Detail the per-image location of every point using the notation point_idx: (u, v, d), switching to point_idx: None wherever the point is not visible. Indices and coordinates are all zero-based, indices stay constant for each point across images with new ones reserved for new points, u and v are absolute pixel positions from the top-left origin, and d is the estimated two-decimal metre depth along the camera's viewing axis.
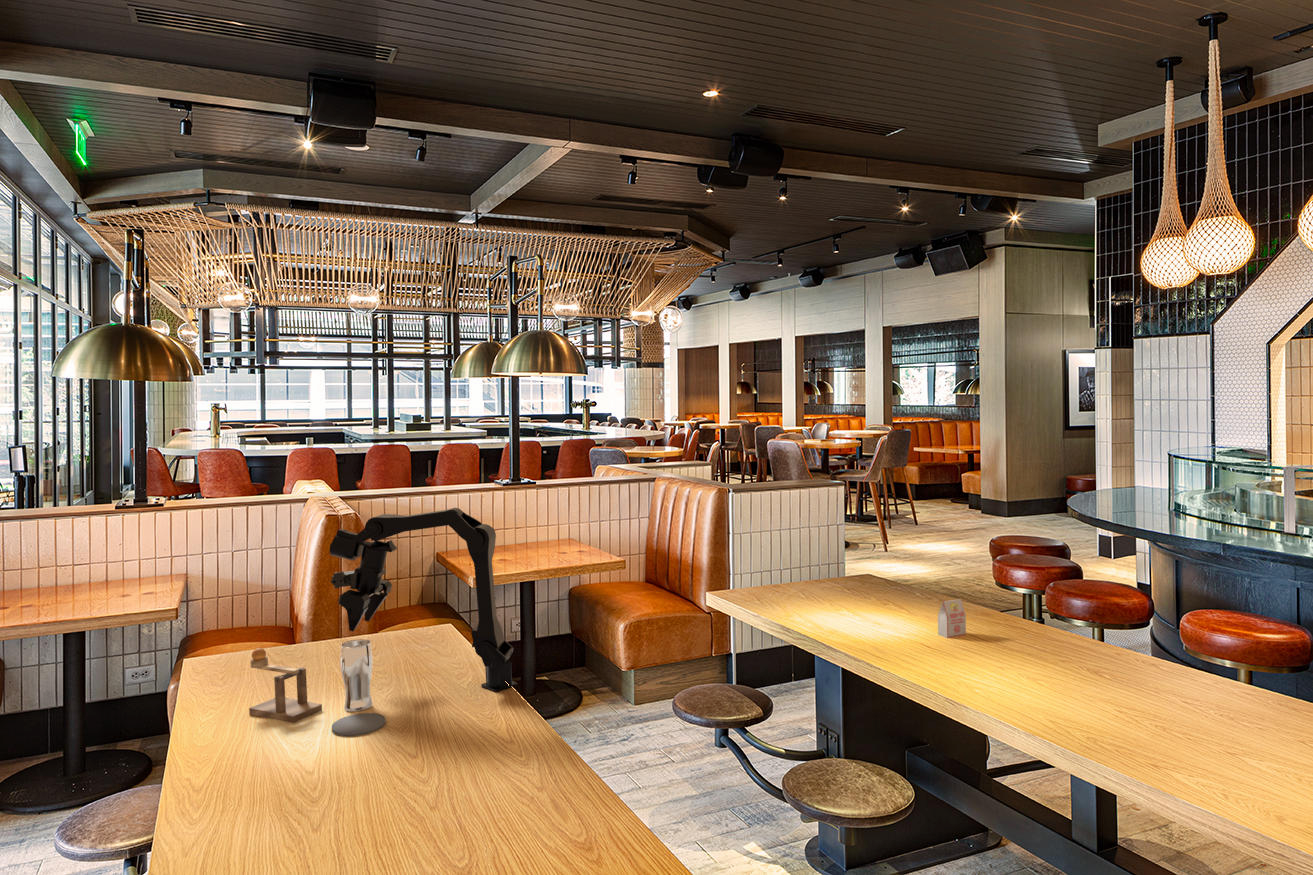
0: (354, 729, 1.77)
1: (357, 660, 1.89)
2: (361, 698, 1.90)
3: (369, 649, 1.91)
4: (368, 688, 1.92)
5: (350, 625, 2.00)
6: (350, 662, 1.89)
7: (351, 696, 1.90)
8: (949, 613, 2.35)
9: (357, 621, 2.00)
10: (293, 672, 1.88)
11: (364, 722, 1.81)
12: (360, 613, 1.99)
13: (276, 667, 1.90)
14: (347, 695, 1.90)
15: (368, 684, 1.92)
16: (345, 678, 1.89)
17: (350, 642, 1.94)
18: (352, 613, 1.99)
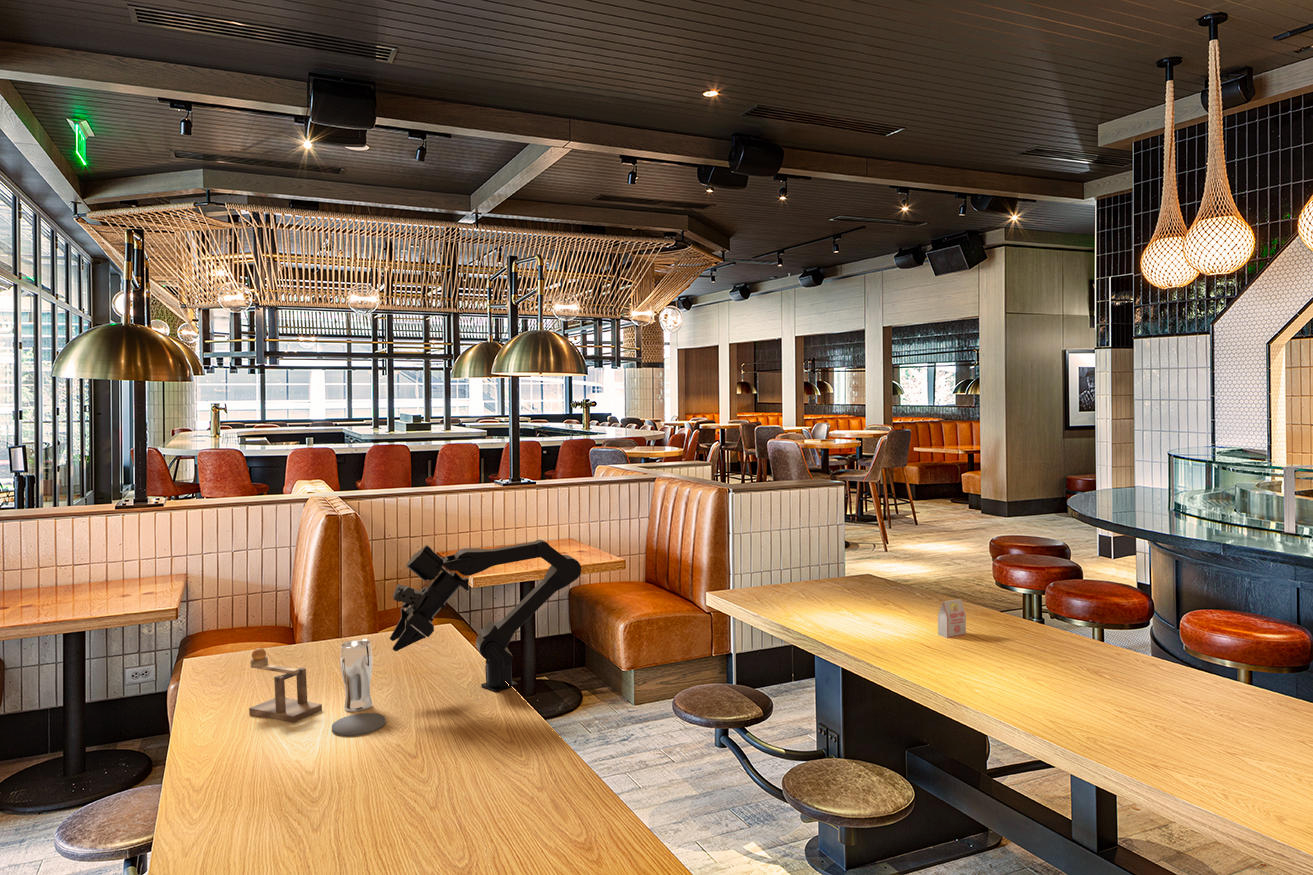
0: (354, 729, 1.77)
1: (357, 660, 1.89)
2: (361, 698, 1.90)
3: (369, 649, 1.91)
4: (368, 688, 1.92)
5: (398, 645, 1.90)
6: (350, 662, 1.89)
7: (351, 696, 1.90)
8: (949, 613, 2.35)
9: (407, 644, 1.91)
10: (293, 672, 1.88)
11: (364, 722, 1.81)
12: (417, 638, 1.91)
13: (276, 667, 1.90)
14: (347, 695, 1.90)
15: (368, 684, 1.92)
16: (345, 678, 1.89)
17: (350, 642, 1.94)
18: (408, 634, 1.91)
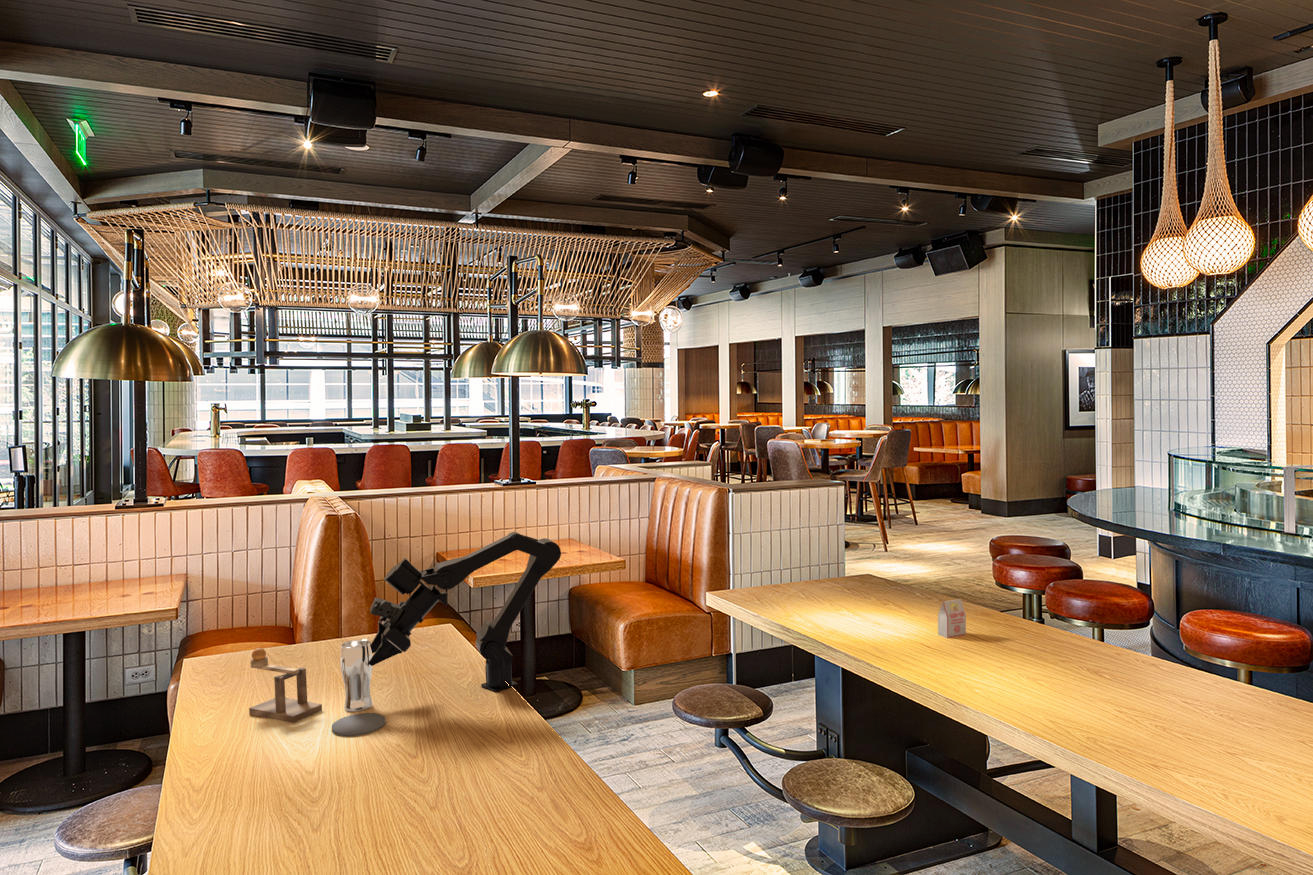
0: (354, 729, 1.77)
1: (357, 660, 1.89)
2: (361, 698, 1.90)
3: (369, 649, 1.91)
4: (368, 688, 1.92)
5: (374, 659, 1.88)
6: (350, 662, 1.89)
7: (351, 696, 1.90)
8: (949, 613, 2.35)
9: (384, 659, 1.89)
10: (293, 672, 1.88)
11: (364, 722, 1.81)
12: (393, 653, 1.89)
13: (276, 667, 1.90)
14: (347, 695, 1.90)
15: (368, 684, 1.92)
16: (345, 678, 1.89)
17: (350, 642, 1.94)
18: (384, 649, 1.89)
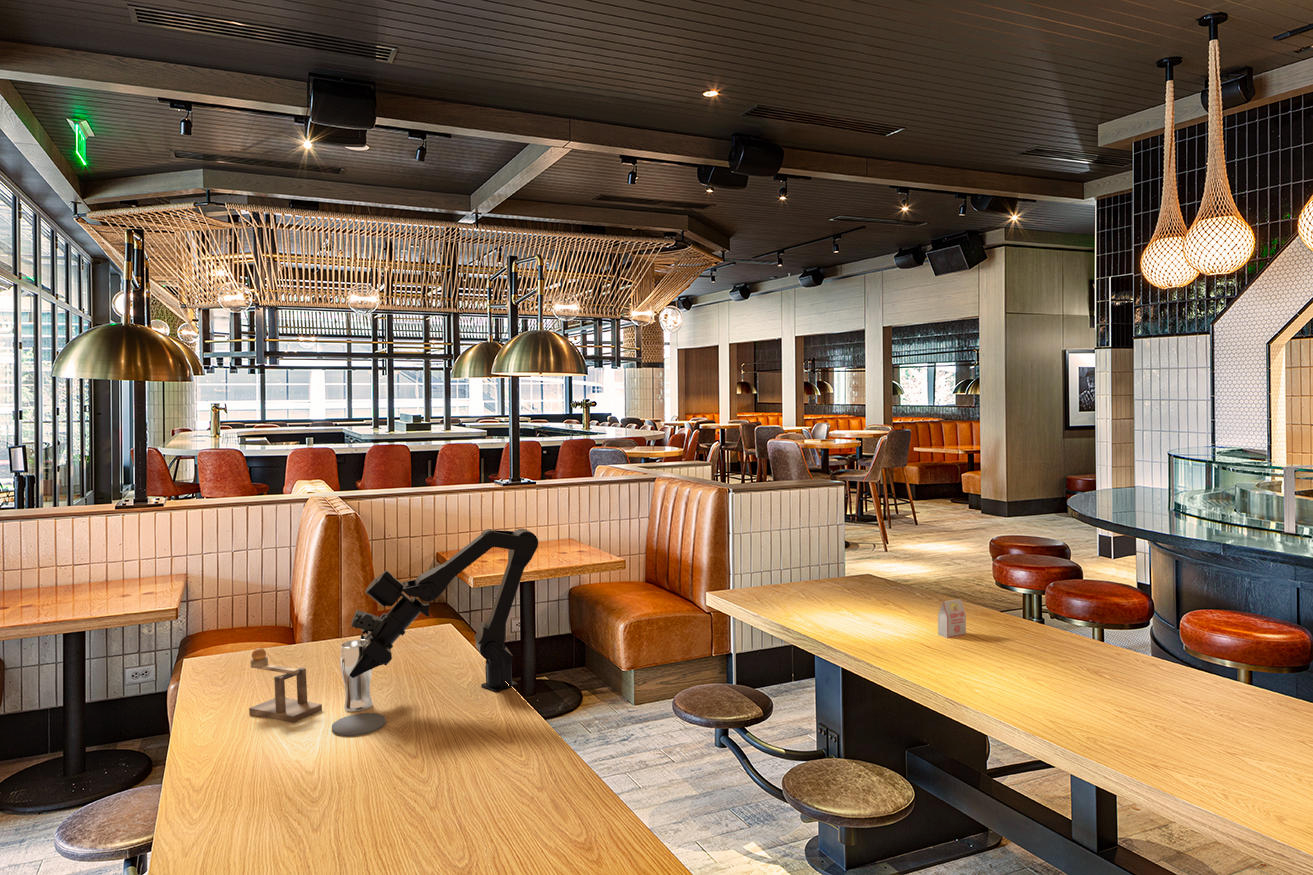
0: (354, 729, 1.77)
1: (357, 660, 1.89)
2: (361, 698, 1.90)
3: None
4: (368, 688, 1.92)
5: (355, 671, 1.88)
6: (350, 662, 1.89)
7: (351, 696, 1.90)
8: (949, 613, 2.35)
9: (365, 670, 1.88)
10: (293, 672, 1.88)
11: (364, 722, 1.81)
12: (374, 665, 1.88)
13: (276, 667, 1.90)
14: (347, 695, 1.90)
15: (368, 684, 1.92)
16: (345, 678, 1.89)
17: (350, 642, 1.94)
18: (365, 661, 1.88)
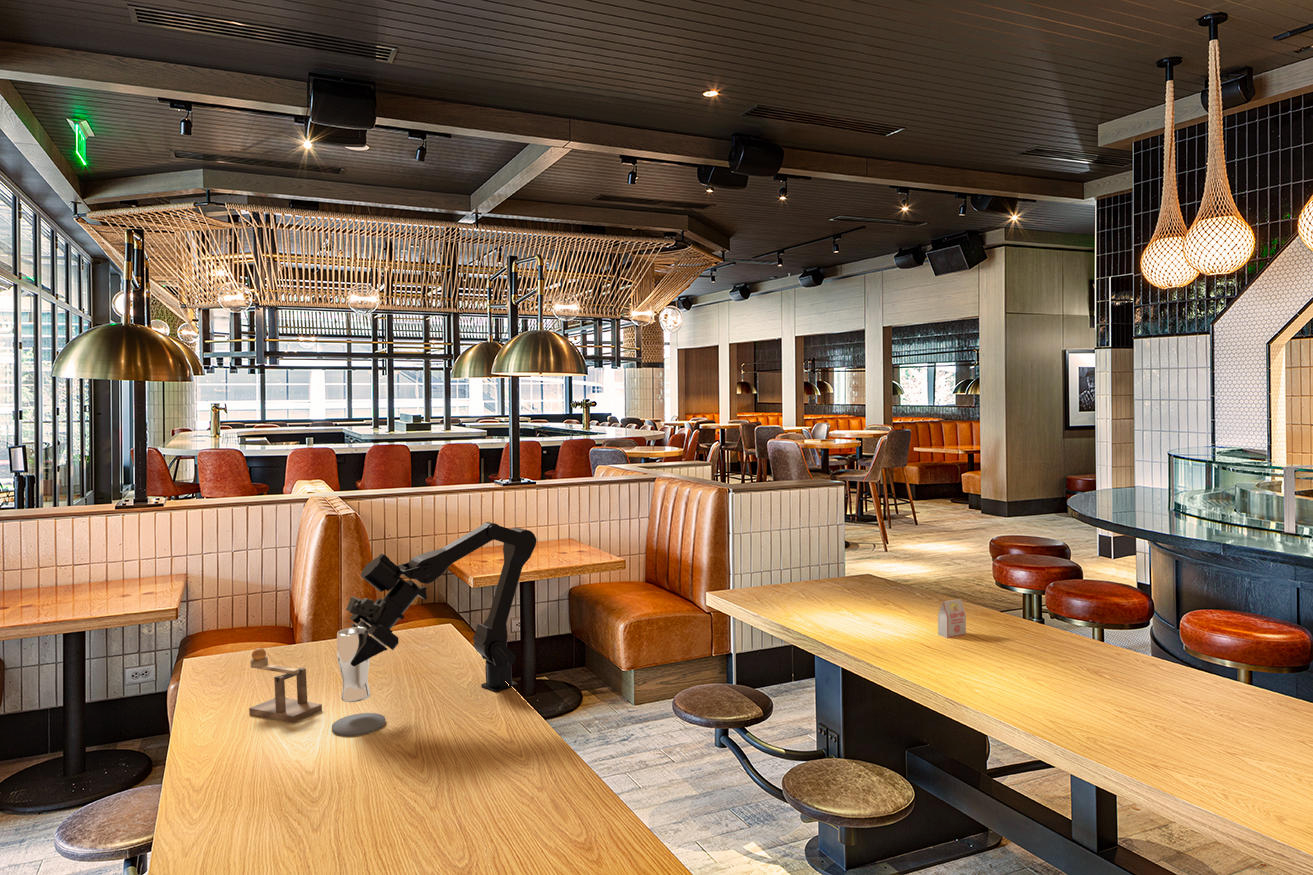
0: (354, 729, 1.77)
1: (358, 648, 1.81)
2: (361, 687, 1.83)
3: None
4: (367, 676, 1.85)
5: (356, 659, 1.80)
6: (350, 650, 1.81)
7: (351, 686, 1.82)
8: (949, 613, 2.35)
9: (367, 658, 1.81)
10: (293, 672, 1.88)
11: (364, 722, 1.81)
12: (377, 651, 1.82)
13: (276, 667, 1.90)
14: (346, 685, 1.82)
15: (367, 672, 1.84)
16: (344, 667, 1.81)
17: (344, 630, 1.85)
18: (367, 648, 1.81)
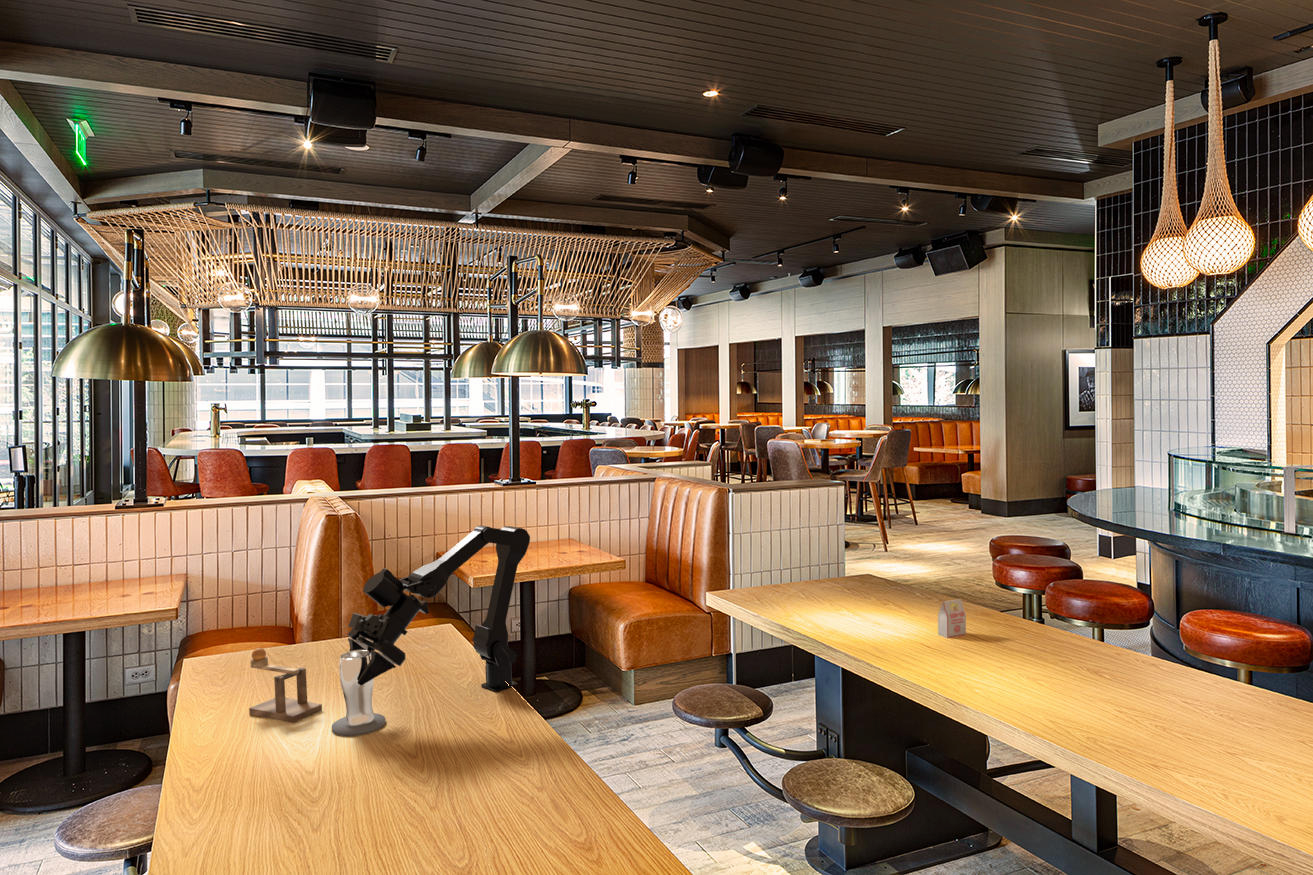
0: (354, 729, 1.77)
1: (363, 671, 1.78)
2: (366, 711, 1.79)
3: None
4: (371, 700, 1.81)
5: (364, 678, 1.76)
6: (355, 674, 1.77)
7: (356, 710, 1.78)
8: (949, 613, 2.35)
9: (374, 676, 1.77)
10: (293, 672, 1.88)
11: None
12: (385, 669, 1.78)
13: (276, 667, 1.90)
14: (351, 710, 1.78)
15: (371, 695, 1.81)
16: (349, 692, 1.77)
17: (345, 654, 1.81)
18: (375, 666, 1.77)
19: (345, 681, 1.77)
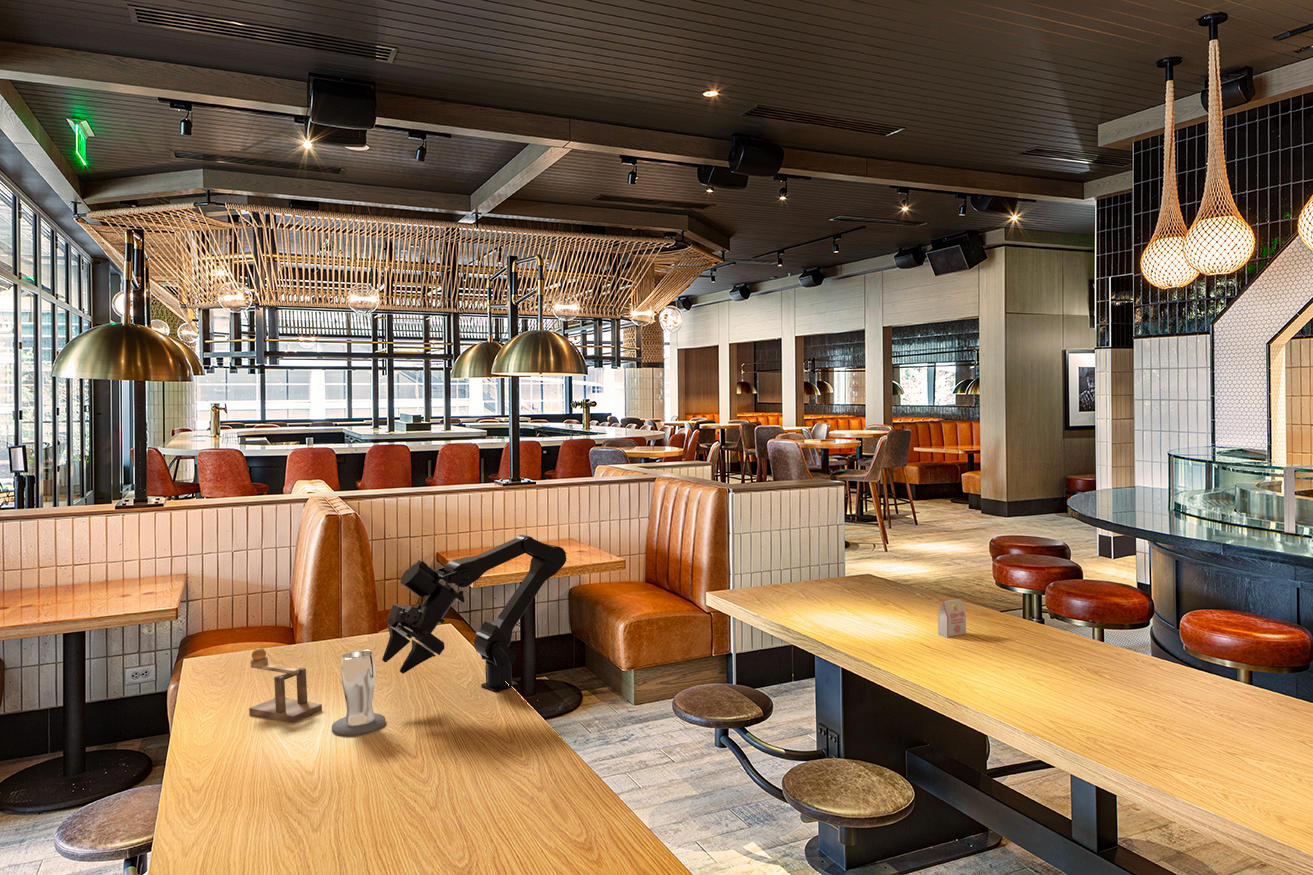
0: (354, 729, 1.77)
1: (365, 671, 1.78)
2: (367, 711, 1.79)
3: (373, 659, 1.81)
4: None
5: (405, 667, 1.84)
6: (357, 674, 1.77)
7: (357, 710, 1.78)
8: (949, 613, 2.35)
9: (415, 664, 1.85)
10: (293, 672, 1.88)
11: None
12: (425, 657, 1.86)
13: (276, 667, 1.90)
14: (351, 710, 1.78)
15: (372, 696, 1.81)
16: (350, 692, 1.78)
17: (347, 654, 1.82)
18: (416, 655, 1.85)
19: (346, 681, 1.77)
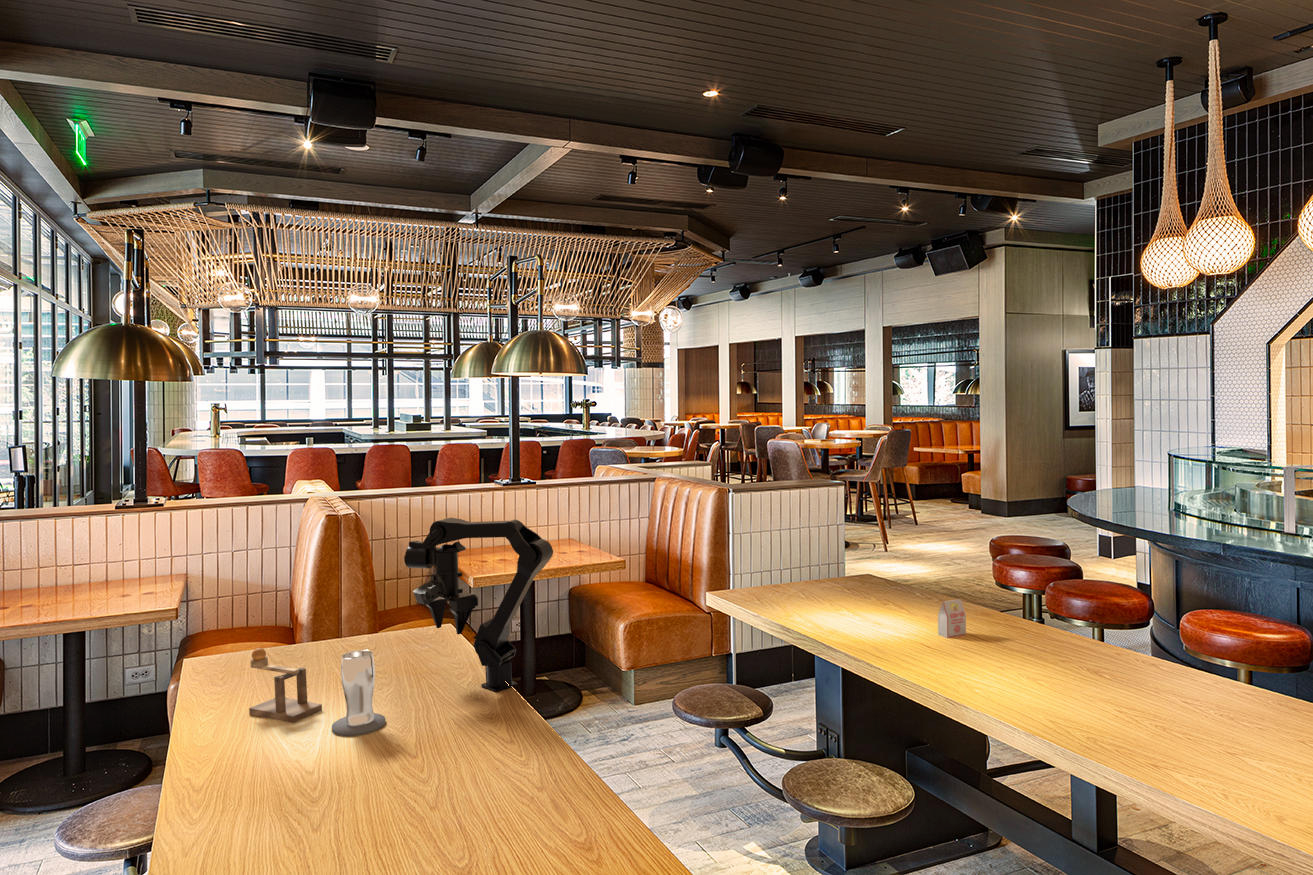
0: (354, 729, 1.77)
1: (365, 671, 1.78)
2: (367, 711, 1.79)
3: (373, 659, 1.81)
4: None
5: (459, 628, 2.04)
6: (357, 674, 1.77)
7: (357, 710, 1.78)
8: (949, 613, 2.35)
9: (465, 621, 2.05)
10: (293, 672, 1.88)
11: None
12: (469, 612, 2.04)
13: (276, 667, 1.90)
14: (351, 710, 1.78)
15: (372, 696, 1.81)
16: (350, 692, 1.78)
17: (347, 654, 1.82)
18: (460, 616, 2.03)
19: (346, 681, 1.77)
